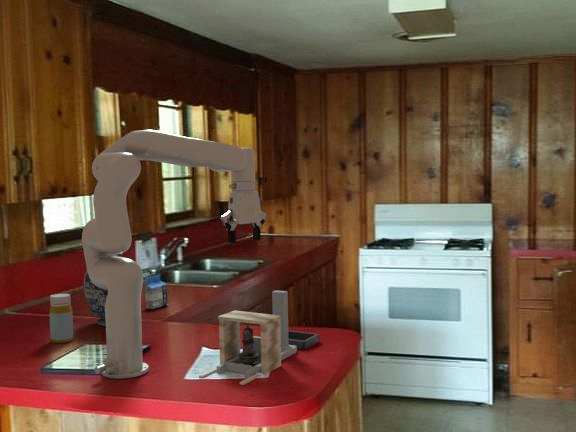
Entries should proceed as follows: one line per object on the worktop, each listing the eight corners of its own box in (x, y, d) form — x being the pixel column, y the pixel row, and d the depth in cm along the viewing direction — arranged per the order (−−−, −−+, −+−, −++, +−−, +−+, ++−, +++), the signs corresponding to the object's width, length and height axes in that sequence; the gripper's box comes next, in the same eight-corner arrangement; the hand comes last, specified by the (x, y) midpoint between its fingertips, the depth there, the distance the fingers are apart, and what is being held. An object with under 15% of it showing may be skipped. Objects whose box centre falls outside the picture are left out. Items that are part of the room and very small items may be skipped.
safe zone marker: (243, 384, 175) (243, 383, 175) (198, 377, 182) (198, 375, 182) (262, 375, 183) (261, 373, 183) (218, 367, 190) (218, 366, 190)
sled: (248, 377, 181) (247, 310, 179) (216, 372, 186) (215, 306, 185) (298, 351, 205) (297, 291, 203) (268, 347, 210) (267, 289, 209)
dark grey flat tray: (304, 349, 207) (304, 341, 206) (270, 345, 212) (270, 337, 212) (319, 341, 215) (319, 334, 215) (286, 337, 221) (286, 330, 221)
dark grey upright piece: (248, 362, 195) (247, 321, 194) (263, 366, 191) (262, 324, 190) (233, 367, 190) (232, 325, 189) (249, 371, 186) (248, 328, 185)
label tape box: (153, 309, 267) (152, 278, 266) (145, 308, 269) (144, 277, 268) (168, 305, 275) (167, 275, 274) (160, 304, 277) (159, 274, 276)
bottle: (67, 336, 227) (65, 292, 226) (77, 340, 222) (75, 295, 221) (47, 341, 222) (44, 295, 221) (56, 344, 217) (54, 298, 216)
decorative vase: (76, 320, 250) (74, 244, 247) (124, 314, 260) (123, 241, 258) (96, 332, 232) (94, 250, 230) (147, 325, 243) (146, 246, 241)
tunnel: (266, 374, 184) (265, 322, 183) (219, 366, 191) (217, 316, 190) (282, 365, 191) (281, 315, 190) (235, 358, 199) (234, 310, 198)
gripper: (228, 188, 205) (229, 245, 207) (272, 186, 217) (273, 240, 218) (213, 188, 211) (215, 243, 212) (257, 186, 222) (258, 238, 224)
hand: (244, 241), depth 215 cm, fingers open, 9 cm apart
